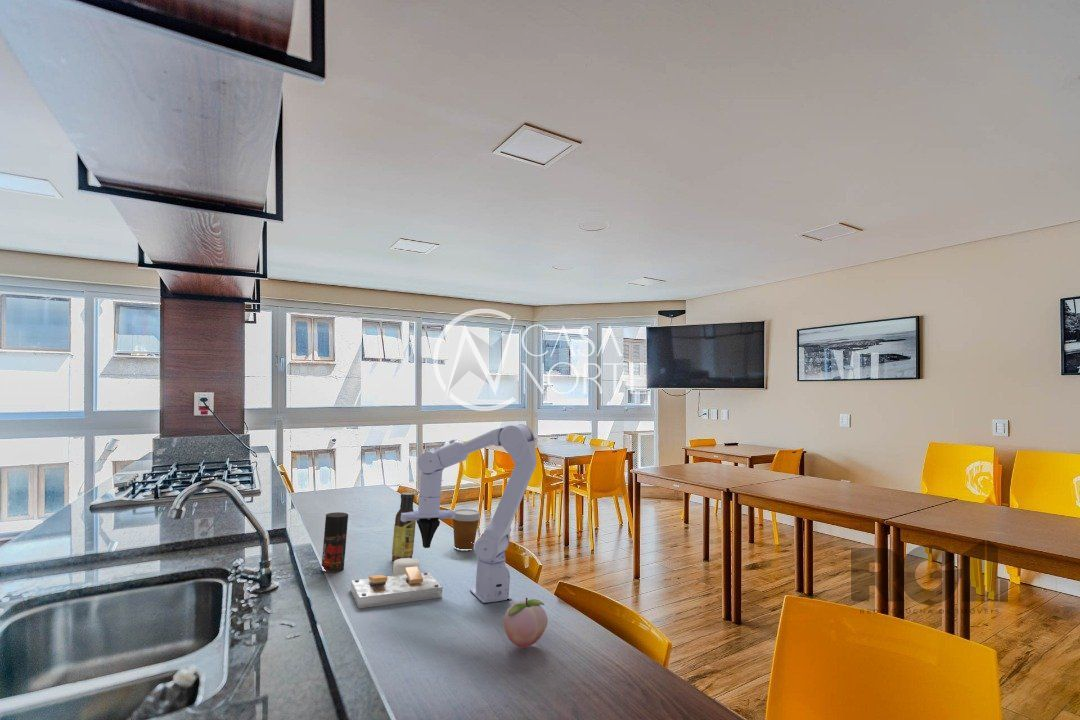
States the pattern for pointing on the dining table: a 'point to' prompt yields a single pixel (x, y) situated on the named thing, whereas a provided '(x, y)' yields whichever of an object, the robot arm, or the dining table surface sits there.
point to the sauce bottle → (404, 530)
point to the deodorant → (334, 542)
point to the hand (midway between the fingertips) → (426, 547)
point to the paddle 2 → (413, 575)
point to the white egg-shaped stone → (404, 565)
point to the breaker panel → (394, 590)
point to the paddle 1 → (378, 578)
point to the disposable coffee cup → (465, 528)
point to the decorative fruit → (525, 622)
